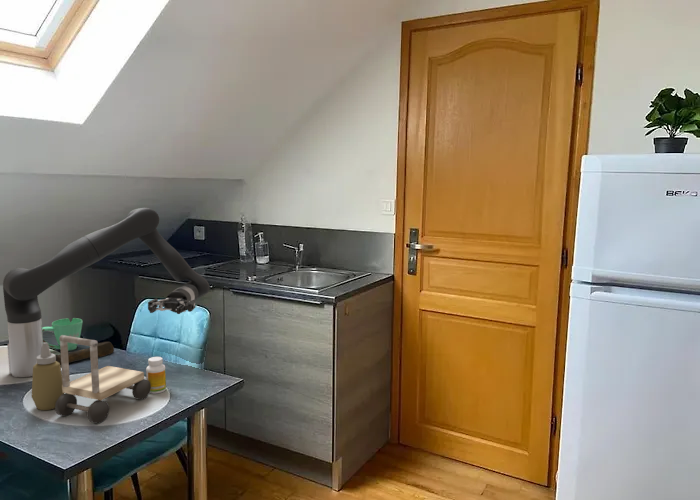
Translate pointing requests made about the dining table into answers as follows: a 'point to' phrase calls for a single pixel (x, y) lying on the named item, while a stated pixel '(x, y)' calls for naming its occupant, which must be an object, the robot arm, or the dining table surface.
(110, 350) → the hand tool
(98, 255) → the robot arm
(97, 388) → the trolley
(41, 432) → the dining table surface
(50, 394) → the squeeze bottle
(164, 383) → the supplement bottle
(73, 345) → the mug
